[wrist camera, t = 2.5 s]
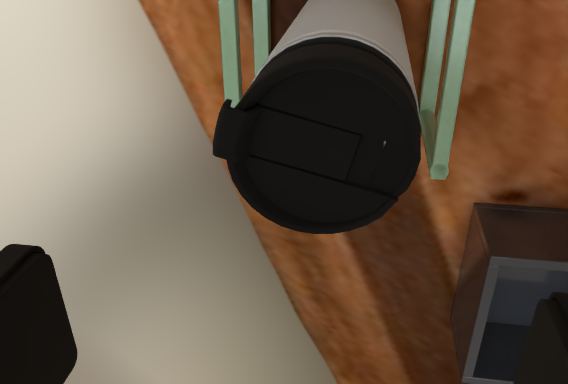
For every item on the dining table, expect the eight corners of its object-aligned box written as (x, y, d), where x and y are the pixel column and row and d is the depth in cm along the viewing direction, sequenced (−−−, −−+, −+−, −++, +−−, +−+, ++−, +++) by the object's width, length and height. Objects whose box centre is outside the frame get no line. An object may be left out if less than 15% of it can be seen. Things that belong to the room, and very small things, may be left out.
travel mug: (312, -42, 31) (232, 28, 14) (416, -10, 31) (464, 100, 14) (286, 57, 34) (195, 212, 17) (380, 86, 34) (383, 271, 17)
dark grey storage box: (473, 202, 38) (491, 256, 32) (612, 212, 36) (656, 270, 31) (450, 319, 43) (461, 383, 37) (569, 331, 42) (599, 399, 36)
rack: (252, -81, 31) (210, -75, 23) (460, -82, 29) (490, -75, 21) (258, 110, 37) (226, 166, 29) (431, 118, 35) (447, 180, 27)
